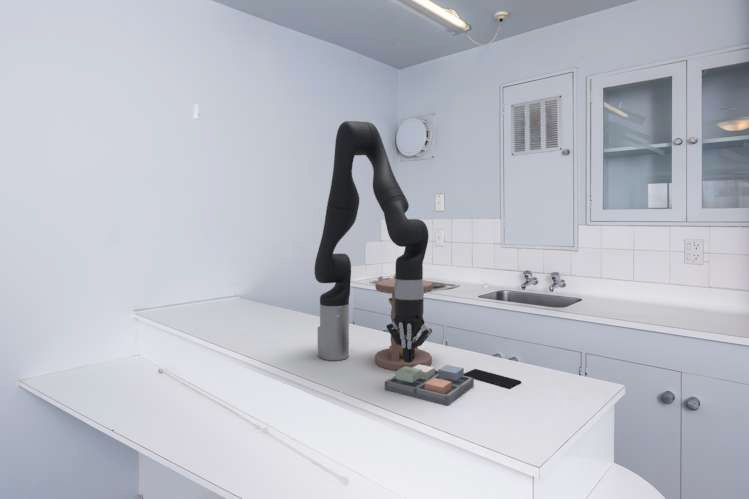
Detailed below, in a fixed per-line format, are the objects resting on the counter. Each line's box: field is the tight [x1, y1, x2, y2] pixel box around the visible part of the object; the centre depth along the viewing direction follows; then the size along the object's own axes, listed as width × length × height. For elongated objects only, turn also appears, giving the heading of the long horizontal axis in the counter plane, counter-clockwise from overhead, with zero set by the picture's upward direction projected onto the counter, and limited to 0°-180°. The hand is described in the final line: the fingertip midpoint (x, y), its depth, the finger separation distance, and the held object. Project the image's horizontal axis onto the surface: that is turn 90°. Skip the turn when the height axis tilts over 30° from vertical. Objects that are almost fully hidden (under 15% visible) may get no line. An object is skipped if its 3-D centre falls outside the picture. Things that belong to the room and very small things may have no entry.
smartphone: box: [464, 368, 522, 390], centre depth 131 cm, size 7×1×15 cm
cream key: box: [413, 364, 436, 379], centre depth 130 cm, size 5×5×2 cm
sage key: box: [394, 366, 422, 382], centre depth 123 cm, size 5×5×2 cm
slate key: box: [437, 364, 465, 381], centre depth 125 cm, size 5×5×2 cm
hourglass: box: [374, 278, 434, 372], centre depth 145 cm, size 18×18×25 cm
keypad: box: [384, 366, 475, 407], centre depth 124 cm, size 18×16×2 cm
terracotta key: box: [425, 378, 451, 394], centre depth 119 cm, size 5×5×2 cm
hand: (408, 361), depth 123 cm, fingers closed
